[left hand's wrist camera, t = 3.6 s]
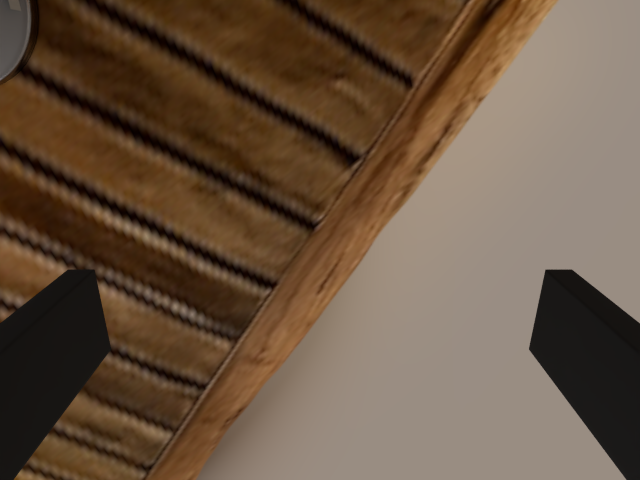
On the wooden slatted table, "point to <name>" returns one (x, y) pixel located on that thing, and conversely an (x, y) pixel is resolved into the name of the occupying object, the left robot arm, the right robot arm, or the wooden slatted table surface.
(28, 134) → the wooden slatted table surface
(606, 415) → the left robot arm
